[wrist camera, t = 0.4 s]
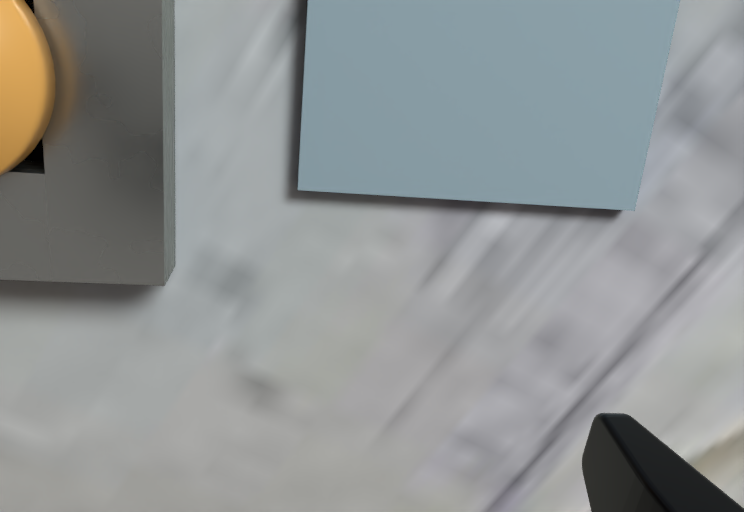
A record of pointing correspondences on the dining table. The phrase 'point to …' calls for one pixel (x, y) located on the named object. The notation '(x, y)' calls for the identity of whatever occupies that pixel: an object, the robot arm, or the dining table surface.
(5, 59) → the plug
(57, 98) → the socket block
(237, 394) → the dining table surface
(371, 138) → the mat
